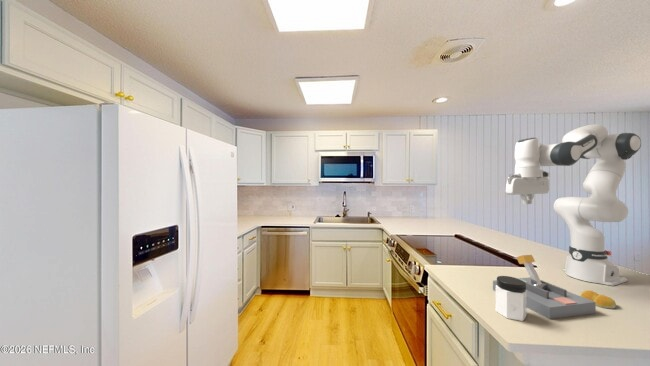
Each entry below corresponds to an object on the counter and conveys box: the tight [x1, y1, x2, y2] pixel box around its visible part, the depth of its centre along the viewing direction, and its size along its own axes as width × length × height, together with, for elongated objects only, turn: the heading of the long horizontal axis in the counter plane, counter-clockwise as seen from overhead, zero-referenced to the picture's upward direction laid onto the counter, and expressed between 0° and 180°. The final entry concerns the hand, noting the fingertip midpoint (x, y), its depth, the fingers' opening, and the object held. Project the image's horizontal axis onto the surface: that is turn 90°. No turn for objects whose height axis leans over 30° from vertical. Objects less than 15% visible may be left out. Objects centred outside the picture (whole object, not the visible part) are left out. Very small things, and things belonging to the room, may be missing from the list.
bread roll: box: [578, 290, 617, 310], centre depth 91 cm, size 8×9×4 cm
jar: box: [495, 275, 528, 322], centre depth 83 cm, size 9×8×12 cm
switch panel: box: [492, 276, 597, 320], centre depth 93 cm, size 20×22×6 cm
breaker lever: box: [516, 254, 548, 290], centre depth 96 cm, size 5×3×13 cm, turn 100°
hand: (527, 204), depth 108 cm, fingers closed
